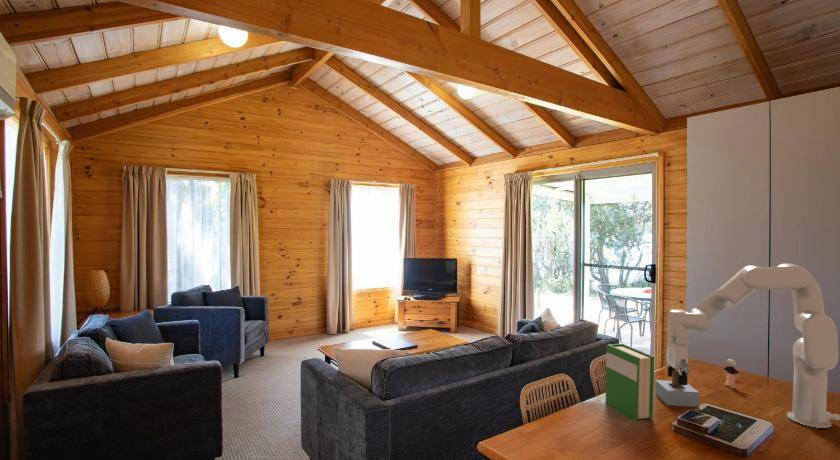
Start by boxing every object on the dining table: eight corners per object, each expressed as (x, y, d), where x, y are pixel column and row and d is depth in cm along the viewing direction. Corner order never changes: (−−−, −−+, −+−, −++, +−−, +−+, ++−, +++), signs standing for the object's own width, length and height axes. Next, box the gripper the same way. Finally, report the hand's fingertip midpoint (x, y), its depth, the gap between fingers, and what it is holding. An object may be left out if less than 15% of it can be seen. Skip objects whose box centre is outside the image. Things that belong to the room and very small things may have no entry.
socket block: (684, 395, 192) (685, 381, 191) (698, 407, 180) (699, 392, 180) (655, 393, 193) (655, 380, 193) (667, 405, 181) (667, 390, 181)
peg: (678, 398, 188) (679, 370, 188) (682, 402, 184) (683, 373, 184) (669, 398, 188) (670, 370, 188) (673, 401, 185) (674, 373, 184)
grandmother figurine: (719, 384, 205) (719, 357, 205) (724, 383, 207) (725, 356, 207) (736, 390, 198) (737, 362, 198) (742, 389, 200) (743, 361, 200)
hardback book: (652, 420, 167) (654, 356, 167) (635, 421, 166) (637, 357, 165) (621, 401, 184) (622, 343, 184) (605, 402, 183) (606, 344, 182)
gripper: (659, 334, 195) (659, 373, 195) (678, 345, 177) (677, 387, 178) (678, 335, 194) (677, 374, 194) (698, 346, 177) (697, 388, 177)
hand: (677, 380), depth 186 cm, fingers open, 9 cm apart
